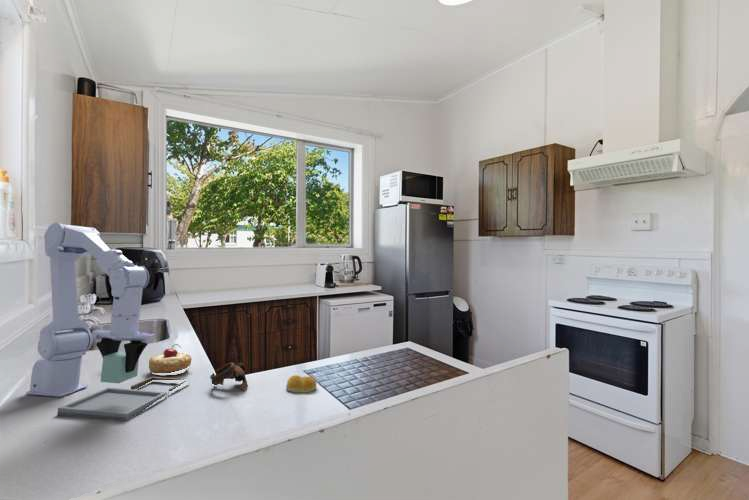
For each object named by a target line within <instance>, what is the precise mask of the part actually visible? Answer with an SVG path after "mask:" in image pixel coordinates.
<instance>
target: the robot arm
mask: <svg viewBox="0 0 749 500" xmlns="http://www.w3.org/2000/svg"><path fill="white" fill-rule="evenodd" d="M43 237H44V238H43V239H44V252H45V256H47V257H49V264H50V265H49V267H50V268H49V269H50V283H51V284H50V285H51V301H52V302H51V304H52V305H51V306H52V321H51V322H49V323H47V325H45V326H44V327H43V328H42V329H40V330H39V340H38V342H37V352H38V355H40V356H41V357H39V358H38V359H37V360H36V361H35V363H34V364H33V366H32V369H31V370H32V371H31V378H30V383H29V384H30V385H29V390H28V391H26V393H25V394H26V395H33V396H45V397H46V396H47V397H56V398H57V397H58V398H61V397H64V396H67V395H70V394H72V393H75V392H78V391H80V390H83V389H85V388H88V384H80V377H81V369H82V362H83V356H86V353H87V352H88V351H89V350H90V348H91V347H92V345H93V341H94V340H100V341H99V342H96V343H95V344H96V348H97V349H98V350H99V353H100V354H101V357H102V358H103V356H106V355H109V354H113V353H116V352H118V349H119V346H120V344H121V341H130V343H127V344H124V348H125V353H126V364H125V371H126V373H129V372H132V371H134V369H135V366H136V364H137V361H138V359H139V360H140V357H141V355H142V354H143V351H144V350H145V349H146V348H147V346H148V344H152V343H155V339H156V337H155V336H156V334H155V333H149V332H142V331H139V326H140V324H139V323H140V315H141V306H142V305H141V304H142V298H143V289H145V288H146V287H147V286H148V285H149V284H150V273H149V271H148V269H147V268H146V267H145V266H143V265H135V264H134V263H133V261H132V260H129V259H128V257H126V256H125V255H123V251H122V250H121V249H110V247H108V245H107V244H106V243H105V242H104V240H102V239H101V234H100V231H98V230H97V229H96V228H95V227H92V226H89V227H88V226H81V225H72V224H66V223H64V224H63V223H59V222H53V223H52V224H51V225H49V226H48V227H47V229H46V231H45V232H44V236H43ZM88 254H90V255H92V256H93V257H94V258H95V259H96V265H97V267H98V268H100V269H101V271H103V272H104V274H106V276H108V279H109V280H108V281H109V285H110V287H111V293H110V294H111V296H112V297H113V300H112V310H111V318H110V325H109V329H108V330H107V329H106V330H103V329H97V330H93V331H91V330H90V324H89V323H88V322H86V321H84V320H82V319H81V318H80V317H79V305H78V304H79V303H78V302H79V301H78V288H77V287H78V285H77V273H76V271H77V270H76V261H77V260H79V259H82V258H84V257H85V256H86V255H88ZM127 338H128V339H127Z"/></svg>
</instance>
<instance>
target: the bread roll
mask: <svg viewBox="0 0 749 500" xmlns="http://www.w3.org/2000/svg"><path fill="white" fill-rule="evenodd" d="M316 388H317V381H316V379H315V378H314V377H312V376H300V375H296V374H295V375H291V376H290V377H289V378H288V379H287V382H286V386H285V389H286V391H288V392H290V393H291V392H292V393H305V394H306V393H307V394H308V393H311V392H313V391H314V390H316Z"/></svg>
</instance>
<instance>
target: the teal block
mask: <svg viewBox="0 0 749 500" xmlns="http://www.w3.org/2000/svg"><path fill="white" fill-rule="evenodd" d="M139 360H140V358H139V359H138V361H137V364H136V366H135V369H134V371H132V372H129V373H126V371H125V364H126V353H125V351H119V352H116V353H113V354H109V355H106V356H103V357H102V365H101V373H100V383H110V384H121V383H124V382H126V381H128V380H130V379H133V378H135V377H137V376H138V373H139V371H138V370H139Z"/></svg>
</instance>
